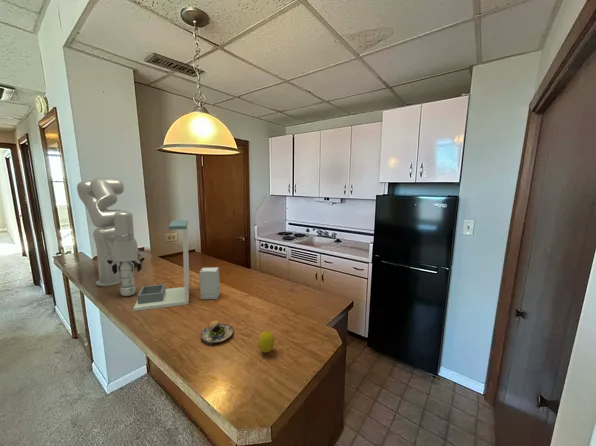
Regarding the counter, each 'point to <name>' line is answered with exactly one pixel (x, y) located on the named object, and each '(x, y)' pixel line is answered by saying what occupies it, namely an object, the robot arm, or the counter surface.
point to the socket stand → (157, 293)
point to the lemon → (266, 341)
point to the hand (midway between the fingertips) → (127, 271)
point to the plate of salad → (216, 333)
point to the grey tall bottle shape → (127, 278)
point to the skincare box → (209, 283)
